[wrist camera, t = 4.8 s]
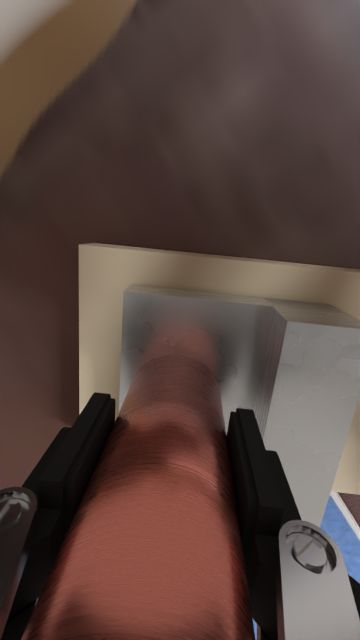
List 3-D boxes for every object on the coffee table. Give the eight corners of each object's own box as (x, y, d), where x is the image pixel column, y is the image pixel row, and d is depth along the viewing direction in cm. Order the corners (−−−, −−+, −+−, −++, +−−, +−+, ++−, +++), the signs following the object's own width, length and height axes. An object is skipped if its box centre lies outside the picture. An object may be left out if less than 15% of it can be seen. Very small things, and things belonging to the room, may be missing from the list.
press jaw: (331, 304, 13) (970, 656, 2) (290, 468, 16) (502, 1003, 5) (131, 284, 14) (-154, 515, 3) (124, 448, 16) (-35, 917, 5)
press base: (551, 288, 15) (840, 335, 8) (462, 481, 18) (616, 625, 12) (93, 242, 15) (14, 251, 9) (91, 438, 19) (33, 551, 12)
